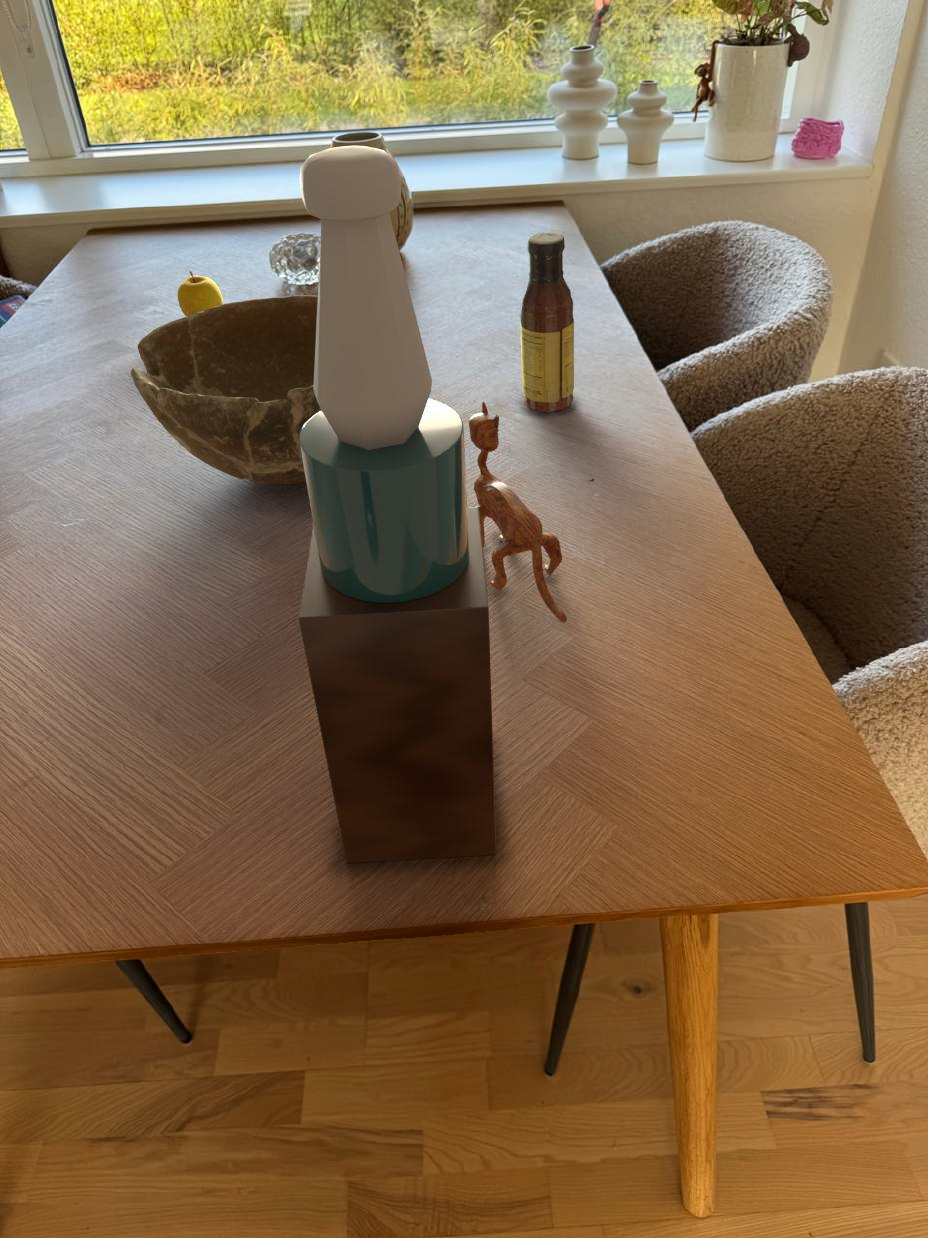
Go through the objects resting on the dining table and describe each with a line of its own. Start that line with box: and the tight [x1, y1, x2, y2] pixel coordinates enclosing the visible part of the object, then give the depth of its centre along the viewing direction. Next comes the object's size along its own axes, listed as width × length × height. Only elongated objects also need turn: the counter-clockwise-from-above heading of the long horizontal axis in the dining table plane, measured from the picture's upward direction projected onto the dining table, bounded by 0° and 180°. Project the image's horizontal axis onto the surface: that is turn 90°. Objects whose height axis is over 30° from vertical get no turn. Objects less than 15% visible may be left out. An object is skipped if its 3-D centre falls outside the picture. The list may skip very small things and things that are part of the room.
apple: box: [176, 270, 224, 317], centre depth 135 cm, size 6×6×8 cm
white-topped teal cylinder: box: [299, 397, 469, 603], centre depth 51 cm, size 11×8×8 cm
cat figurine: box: [468, 401, 568, 623], centre depth 81 cm, size 18×7×14 cm, turn 24°
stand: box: [297, 506, 497, 864], centre depth 59 cm, size 10×10×21 cm
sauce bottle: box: [519, 231, 575, 414], centre depth 107 cm, size 6×6×20 cm
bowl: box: [130, 294, 321, 485], centre depth 99 cm, size 28×27×15 cm
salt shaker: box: [299, 145, 433, 450], centre depth 43 cm, size 6×6×13 cm
